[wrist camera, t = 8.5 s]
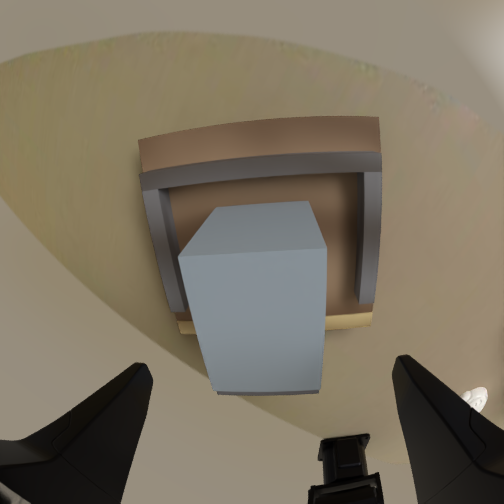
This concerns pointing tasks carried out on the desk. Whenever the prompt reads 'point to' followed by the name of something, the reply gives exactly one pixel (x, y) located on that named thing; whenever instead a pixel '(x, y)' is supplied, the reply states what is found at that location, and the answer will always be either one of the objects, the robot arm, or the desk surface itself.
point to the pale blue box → (259, 298)
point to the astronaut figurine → (476, 398)
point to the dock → (272, 196)
